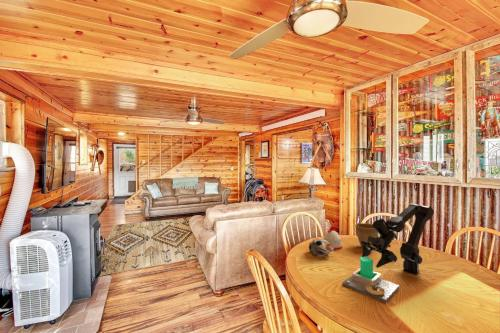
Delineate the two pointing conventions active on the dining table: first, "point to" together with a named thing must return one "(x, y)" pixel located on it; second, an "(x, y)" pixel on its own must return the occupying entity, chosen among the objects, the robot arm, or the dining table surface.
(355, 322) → the dining table surface
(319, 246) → the lucky cat figurine
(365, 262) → the candle
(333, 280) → the dining table surface
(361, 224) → the plant pot
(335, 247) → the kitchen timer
